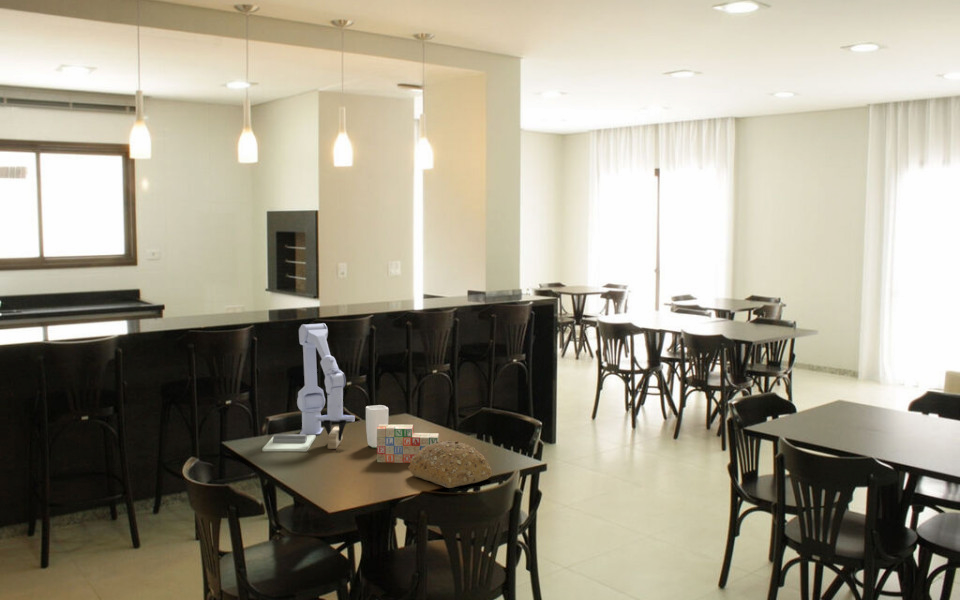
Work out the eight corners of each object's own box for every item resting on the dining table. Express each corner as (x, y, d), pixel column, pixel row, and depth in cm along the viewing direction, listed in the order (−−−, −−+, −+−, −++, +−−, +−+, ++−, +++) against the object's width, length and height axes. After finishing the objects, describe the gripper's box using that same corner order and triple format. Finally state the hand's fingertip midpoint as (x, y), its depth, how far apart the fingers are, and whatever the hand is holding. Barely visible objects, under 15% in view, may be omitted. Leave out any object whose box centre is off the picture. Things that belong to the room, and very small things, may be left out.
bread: (401, 476, 267) (401, 441, 266) (450, 464, 282) (450, 430, 281) (449, 494, 249) (449, 456, 248) (499, 480, 264) (499, 444, 263)
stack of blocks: (438, 458, 289) (439, 424, 288) (437, 463, 282) (437, 429, 281) (379, 457, 289) (379, 423, 288) (376, 462, 283) (376, 427, 282)
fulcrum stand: (274, 437, 315) (274, 428, 315) (315, 437, 316) (315, 428, 315) (262, 451, 295) (262, 441, 295) (306, 451, 296) (306, 441, 295)
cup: (371, 449, 299) (371, 410, 298) (364, 445, 305) (364, 406, 304) (389, 447, 302) (389, 408, 301) (382, 443, 309) (382, 404, 307)
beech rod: (334, 439, 313) (334, 426, 313) (342, 439, 313) (342, 426, 313) (327, 448, 299) (327, 435, 299) (335, 448, 299) (335, 435, 299)
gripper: (313, 406, 301) (314, 442, 302) (353, 406, 301) (353, 442, 302) (317, 402, 308) (317, 437, 309) (355, 402, 308) (355, 437, 309)
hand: (335, 440), depth 306 cm, fingers closed on beech rod, 3 cm apart
